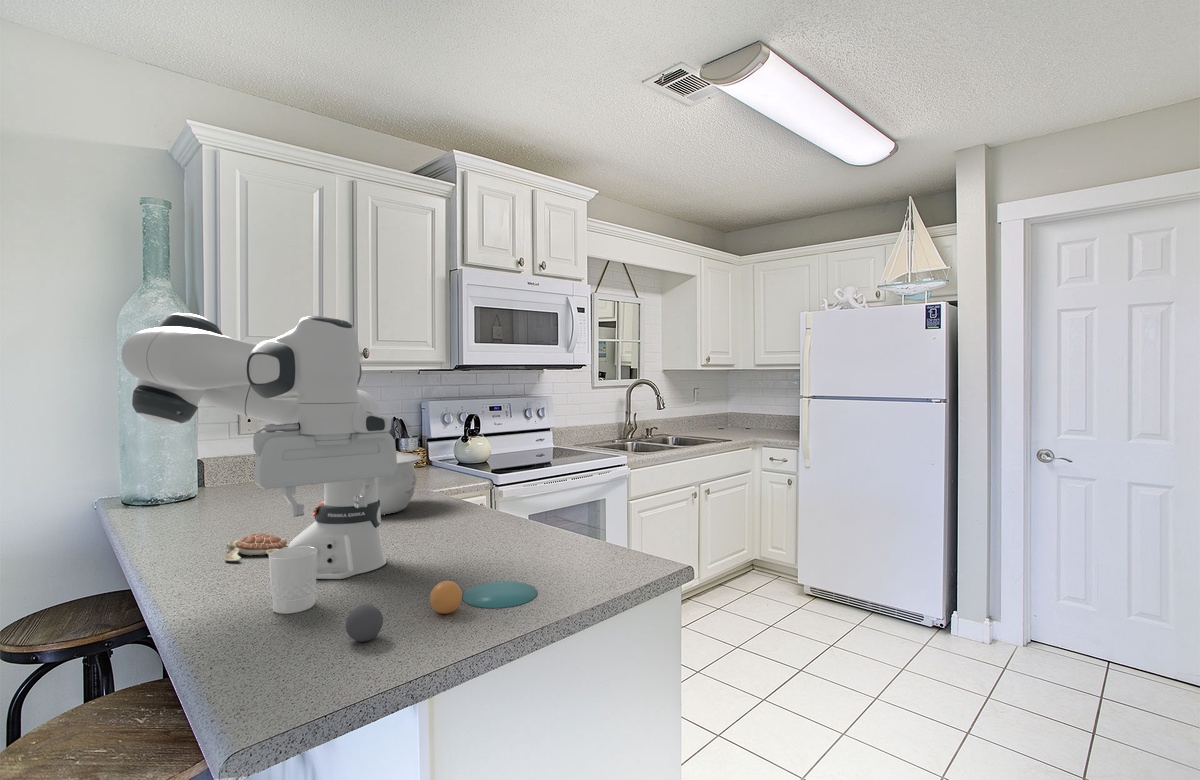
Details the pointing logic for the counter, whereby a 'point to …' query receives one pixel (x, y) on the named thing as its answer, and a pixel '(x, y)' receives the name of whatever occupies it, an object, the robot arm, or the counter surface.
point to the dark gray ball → (364, 622)
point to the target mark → (499, 594)
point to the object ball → (446, 597)
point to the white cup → (293, 578)
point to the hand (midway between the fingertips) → (330, 511)
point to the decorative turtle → (254, 546)
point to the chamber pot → (398, 484)
